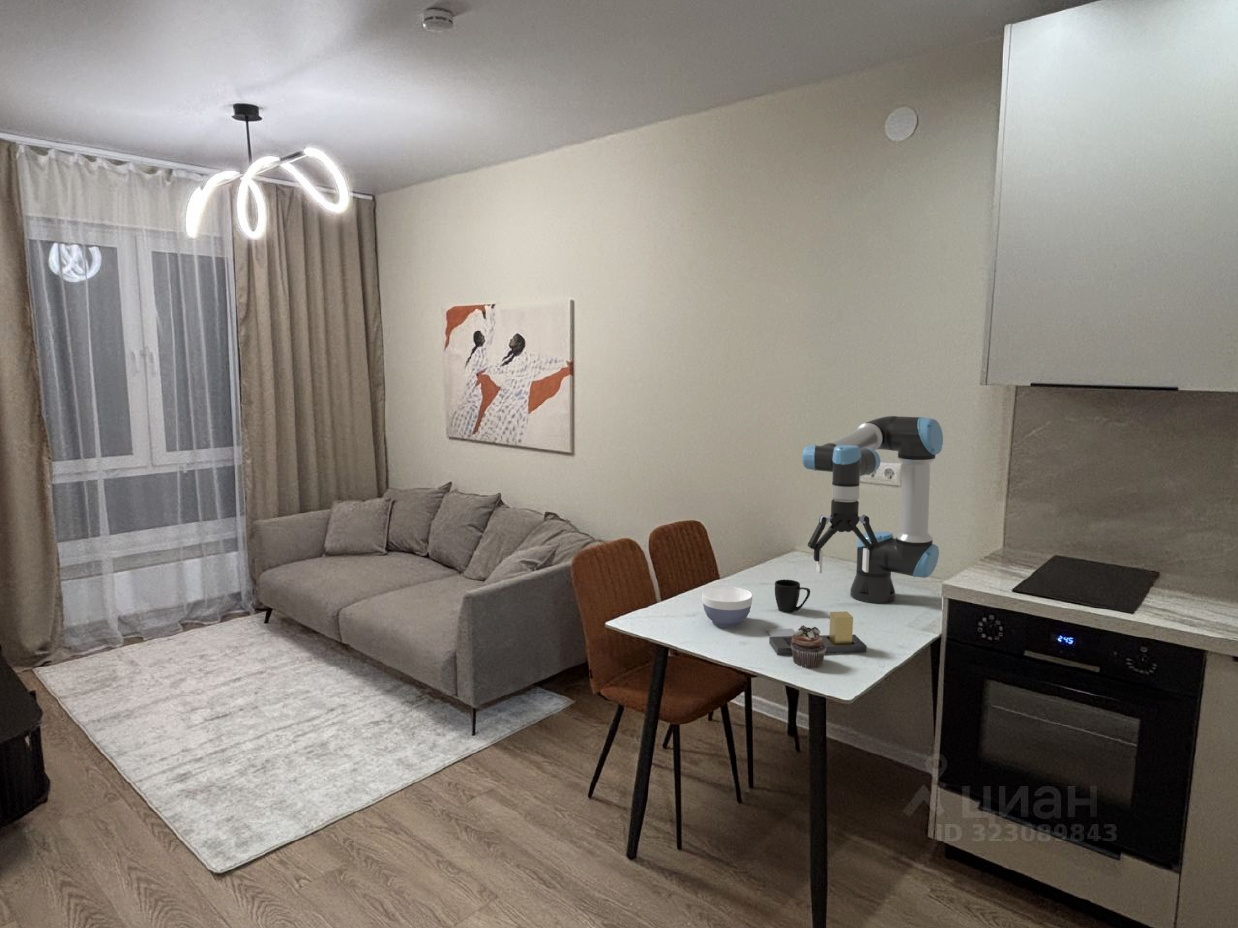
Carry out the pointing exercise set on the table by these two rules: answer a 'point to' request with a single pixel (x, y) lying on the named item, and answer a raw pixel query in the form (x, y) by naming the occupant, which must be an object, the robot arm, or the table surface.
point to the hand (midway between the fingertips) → (842, 571)
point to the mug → (788, 595)
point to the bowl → (727, 605)
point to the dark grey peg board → (857, 645)
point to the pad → (780, 632)
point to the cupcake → (808, 647)
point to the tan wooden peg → (841, 628)
